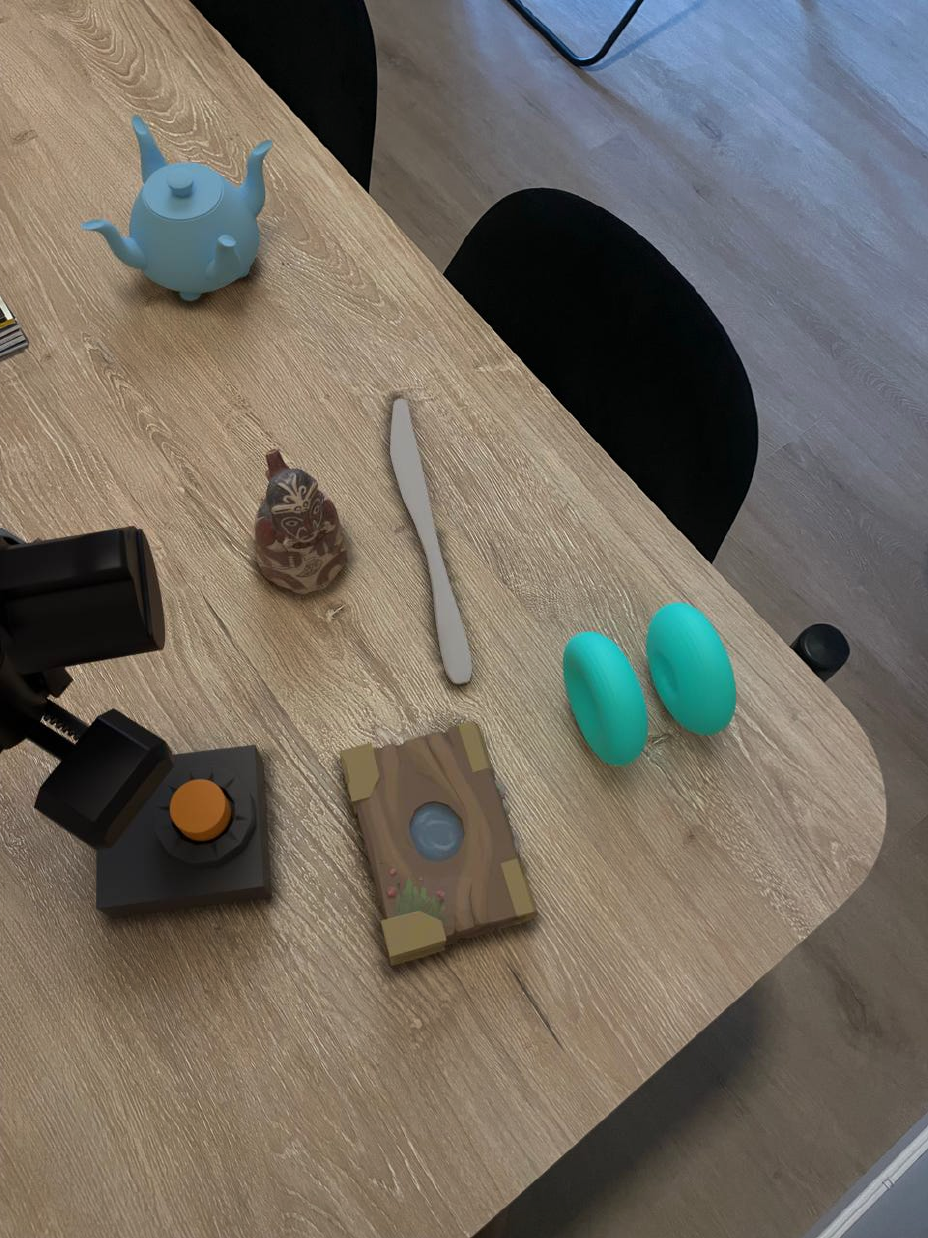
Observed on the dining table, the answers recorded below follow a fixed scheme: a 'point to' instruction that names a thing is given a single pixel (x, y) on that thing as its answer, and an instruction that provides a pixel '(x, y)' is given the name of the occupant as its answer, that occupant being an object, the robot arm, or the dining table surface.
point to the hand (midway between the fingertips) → (46, 756)
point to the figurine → (297, 530)
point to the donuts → (681, 672)
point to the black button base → (191, 844)
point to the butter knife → (429, 544)
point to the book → (437, 840)
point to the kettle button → (200, 810)
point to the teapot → (189, 221)
